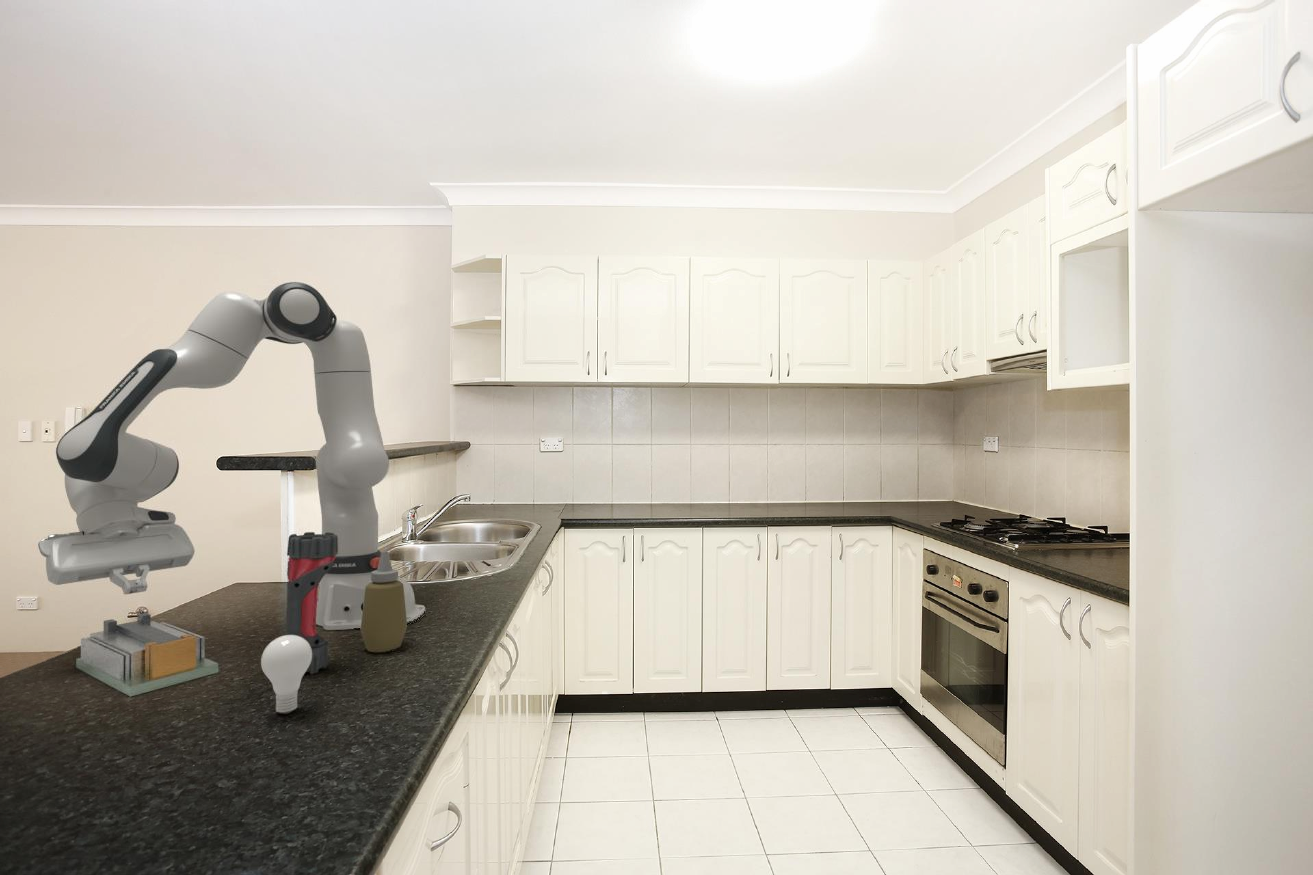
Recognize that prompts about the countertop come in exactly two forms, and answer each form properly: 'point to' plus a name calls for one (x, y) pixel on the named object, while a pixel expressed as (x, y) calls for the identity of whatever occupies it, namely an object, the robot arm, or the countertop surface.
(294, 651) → the lightbulb
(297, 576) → the flashlight
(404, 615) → the squeeze bottle
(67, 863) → the countertop surface
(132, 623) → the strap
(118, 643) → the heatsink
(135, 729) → the countertop surface
